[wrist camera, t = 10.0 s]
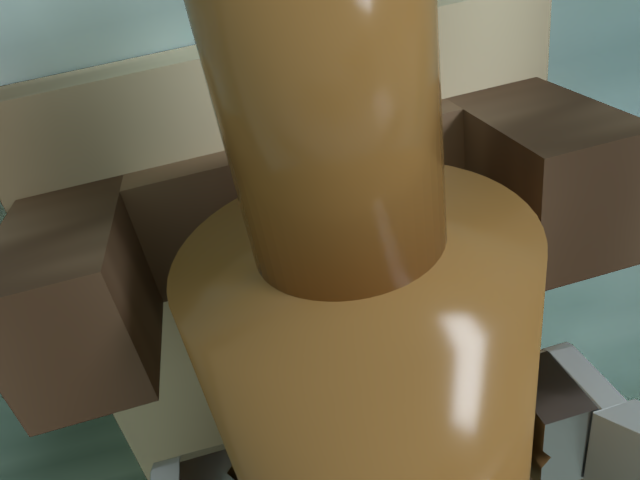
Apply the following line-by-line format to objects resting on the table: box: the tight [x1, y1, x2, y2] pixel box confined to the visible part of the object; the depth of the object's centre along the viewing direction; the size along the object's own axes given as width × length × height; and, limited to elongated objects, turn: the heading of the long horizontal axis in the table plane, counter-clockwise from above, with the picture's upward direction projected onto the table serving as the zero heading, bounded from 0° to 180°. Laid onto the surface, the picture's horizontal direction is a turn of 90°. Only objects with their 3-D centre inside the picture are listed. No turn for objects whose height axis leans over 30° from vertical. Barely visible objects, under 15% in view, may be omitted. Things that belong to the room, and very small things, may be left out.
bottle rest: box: [0, 0, 640, 480], centre depth 13 cm, size 11×15×5 cm
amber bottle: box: [166, 0, 548, 480], centre depth 9 cm, size 5×17×5 cm
